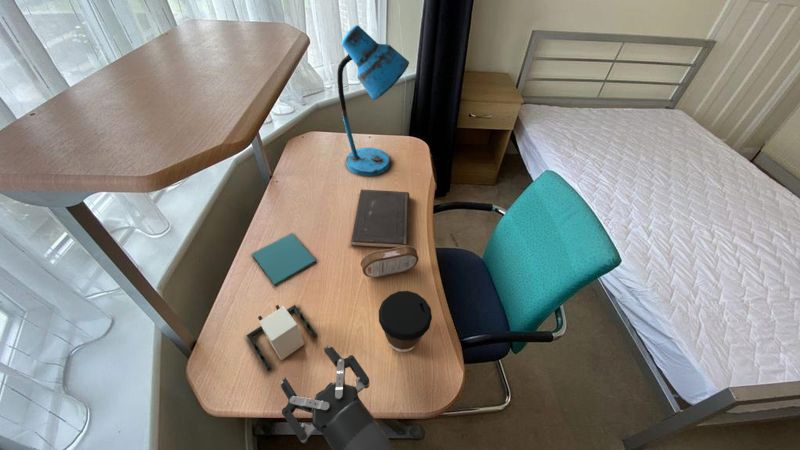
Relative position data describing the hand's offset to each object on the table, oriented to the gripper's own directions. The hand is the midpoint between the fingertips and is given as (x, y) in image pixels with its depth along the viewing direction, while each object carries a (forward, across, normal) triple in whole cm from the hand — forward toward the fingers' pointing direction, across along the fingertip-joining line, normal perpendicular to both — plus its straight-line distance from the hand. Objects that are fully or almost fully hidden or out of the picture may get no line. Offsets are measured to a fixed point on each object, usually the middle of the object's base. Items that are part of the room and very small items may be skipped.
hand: (306, 363), depth 59 cm
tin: (+11, +30, -10) cm, 33 cm away
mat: (+33, +11, -9) cm, 36 cm away
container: (+11, 0, -10) cm, 15 cm away
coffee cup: (-5, +20, -10) cm, 23 cm away
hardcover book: (+28, +41, -10) cm, 50 cm away
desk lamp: (+53, +58, -10) cm, 79 cm away
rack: (+13, 0, -9) cm, 16 cm away
